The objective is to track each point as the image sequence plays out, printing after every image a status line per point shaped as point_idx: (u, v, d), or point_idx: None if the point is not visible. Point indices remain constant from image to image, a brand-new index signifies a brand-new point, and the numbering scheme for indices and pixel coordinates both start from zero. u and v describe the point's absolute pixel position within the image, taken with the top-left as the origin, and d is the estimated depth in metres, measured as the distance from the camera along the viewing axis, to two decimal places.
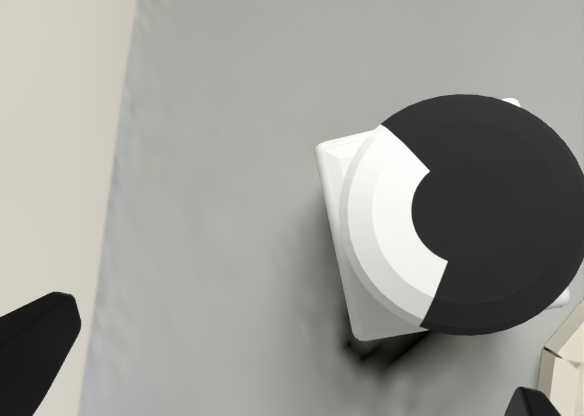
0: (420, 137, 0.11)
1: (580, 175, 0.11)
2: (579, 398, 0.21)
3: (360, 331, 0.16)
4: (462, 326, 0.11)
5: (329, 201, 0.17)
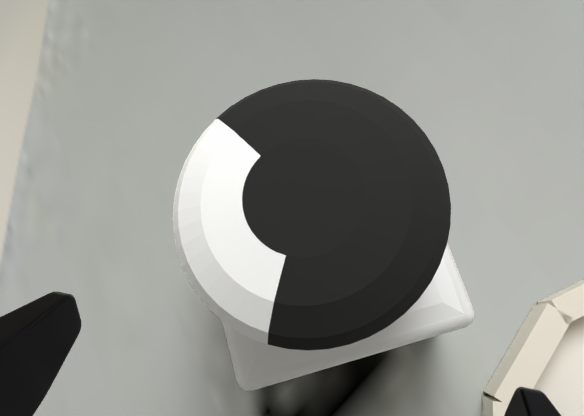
0: (250, 122, 0.10)
1: (429, 149, 0.10)
2: None
3: (243, 378, 0.14)
4: (313, 336, 0.09)
5: None
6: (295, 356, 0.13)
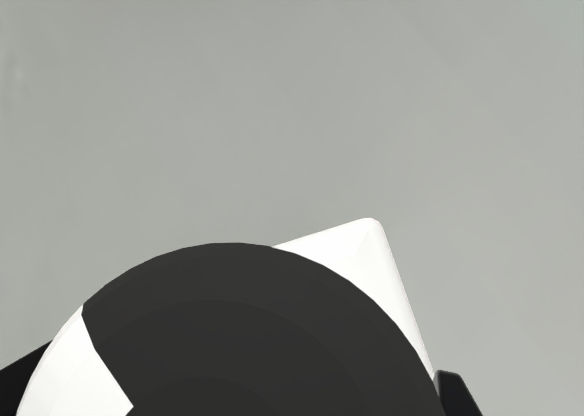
0: (123, 336, 0.06)
1: (424, 390, 0.06)
2: None
3: None
4: None
5: None
6: None
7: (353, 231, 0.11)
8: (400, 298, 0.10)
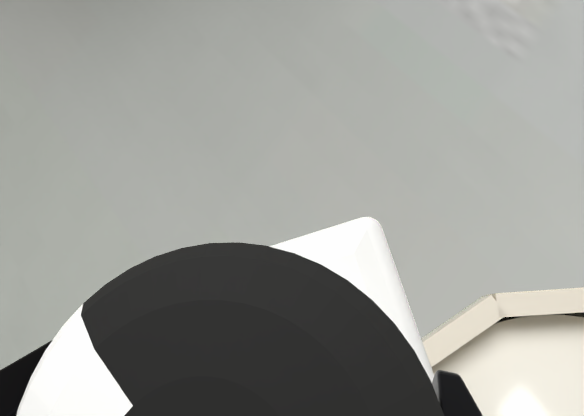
0: (122, 336, 0.06)
1: (421, 389, 0.06)
2: None
3: None
4: None
5: None
6: None
7: (352, 230, 0.11)
8: (399, 297, 0.10)
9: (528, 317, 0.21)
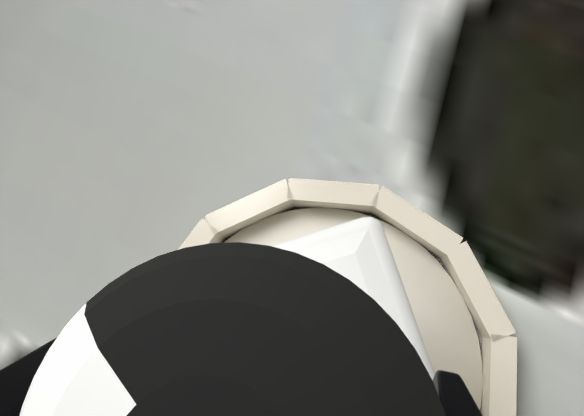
0: (126, 335, 0.06)
1: (423, 388, 0.06)
2: None
3: None
4: None
5: None
6: None
7: (353, 230, 0.11)
8: (400, 297, 0.10)
9: (248, 227, 0.23)
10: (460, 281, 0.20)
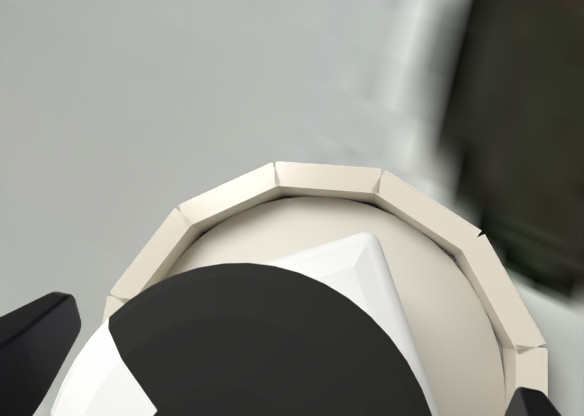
0: (147, 348, 0.07)
1: (413, 396, 0.07)
2: None
3: None
4: None
5: None
6: None
7: (352, 245, 0.12)
8: (396, 308, 0.11)
9: (229, 219, 0.20)
10: (478, 281, 0.17)
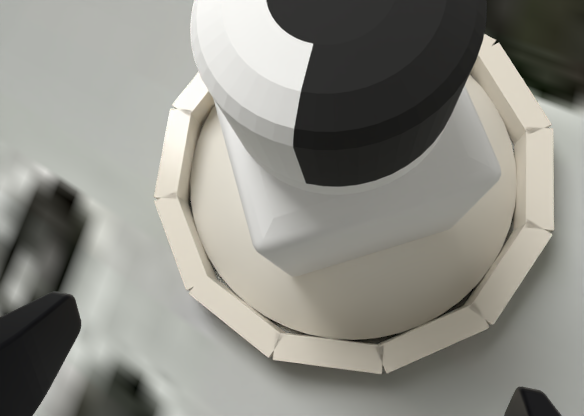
0: None
1: None
2: (210, 227, 0.21)
3: (260, 239, 0.13)
4: (342, 128, 0.09)
5: None
6: (314, 215, 0.13)
7: None
8: None
9: None
10: (493, 81, 0.20)
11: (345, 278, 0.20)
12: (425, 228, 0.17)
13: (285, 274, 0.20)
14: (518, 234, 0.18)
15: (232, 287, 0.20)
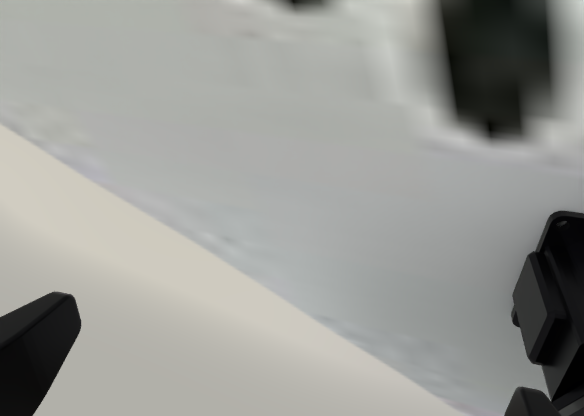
0: None
1: None
2: None
3: None
4: None
5: None
6: None
7: None
8: None
9: None
10: None
11: None
12: None
13: None
14: None
15: None
